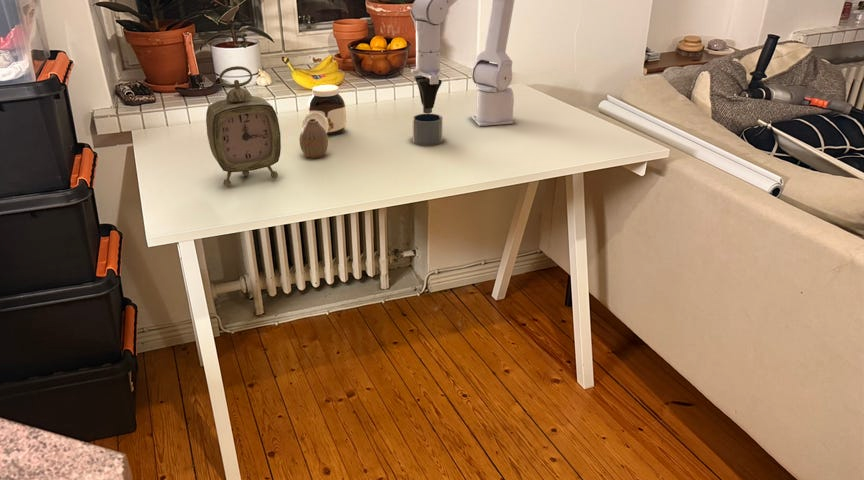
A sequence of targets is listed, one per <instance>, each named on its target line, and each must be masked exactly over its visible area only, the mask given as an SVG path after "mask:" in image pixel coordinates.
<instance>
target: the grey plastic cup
mask: <svg viewBox="0 0 864 480" xmlns="http://www.w3.org/2000/svg"><path fill="white" fill-rule="evenodd" d="M443 122H444V118H443V116H442V115H440V114H436V113H420V114H416V115H414V116H413V117H412V143H413V144H416V145H419V146H424V147H426V146H427V147H428V146H429V147H430V146H436V145H439V144H441V143H442V142H443V130H444V129H443V128H444V127H443V124H444V123H443Z"/></svg>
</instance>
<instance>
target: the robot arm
mask: <svg viewBox="0 0 864 480" xmlns="http://www.w3.org/2000/svg"><path fill="white" fill-rule="evenodd" d="M457 1H458V0H414V1H413V2H412V6H411V9H410V10H409V13H410V17H411V19H412V21H413V27H414V29H415V68H411V69H410V72H411V74H413V75H415V74H416V75H415V76H414V77H413V78H414V80H415V82H416V85H417V87H418V92H419V96H420V102H421V105H422V106H423V103H424V107H425V109H429V108H432V109H434V107H435V102H436V98H437V94H438V91H439V89H440V87H441V85H442V83H443V81H442V79H440V74H441V60H440V59H441V23H443V22H444V20H445V18H446V15H447V12H448V11H449V9H450V8H451V7H452V6H453V5H454V4H455V3H457ZM514 5H515V0H492V3H491V9H490V15H489V22H488V27H487V34H486V38H485V39H486V40H485V46H484V49H483V51H481V52H480V53H479V54H477V55H476V57H475V62H474V64H473V67H472V69H471V74H470V75H471V80H472V82H473V84H475V88H476V89H477V94H476V95H477V96H476V115H472V116H471V119H472V120H473V121H474V122H475V124H477V125H478V126H479V127H484V126H498V125H512V124H514V121H513V120H514V105H515V104H514V102H515V97H514V91H513V89H512V88H511V87H509V86H510V85H511V83H512V80H513V69H512V68H513V67H512V66H513V60H512V59H511V58H510V56H509V55H508V54H507V52H506V51H507V46H508V45H507V44H508V40H509V34H510V28H511V22H512V16H513V10H514Z"/></svg>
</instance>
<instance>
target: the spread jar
mask: <svg viewBox="0 0 864 480" xmlns="http://www.w3.org/2000/svg"><path fill="white" fill-rule="evenodd" d="M311 89H312V90H311V92H312V95H311V97H310V98H309V99H308V102H307V115H306V116H305V117H304V118H303V120H302V124H301V127H302V129H303V128H304V126H305V125H306V123H307V120H309V119H317V120H318V122H319V124H320V125H321V126H322V127H323V128H324V130H325V131H326V133H327V136H328V137H329V136H336V135H338V134H340V133H342V132H343V130H344V129H345V128H346V126H347V107H346V106H347V105H346V102H345V99H344V98H343V96H341V95H340V91H339V89H340V88H339V86H338V85H335V84H320V85H316V86H313V87H312V88H311Z"/></svg>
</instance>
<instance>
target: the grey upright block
mask: <svg viewBox="0 0 864 480" xmlns="http://www.w3.org/2000/svg"><path fill="white" fill-rule="evenodd" d="M422 112H423V113H422V114H433V108H429V109H425V107H424V103H423V105H422Z"/></svg>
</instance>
